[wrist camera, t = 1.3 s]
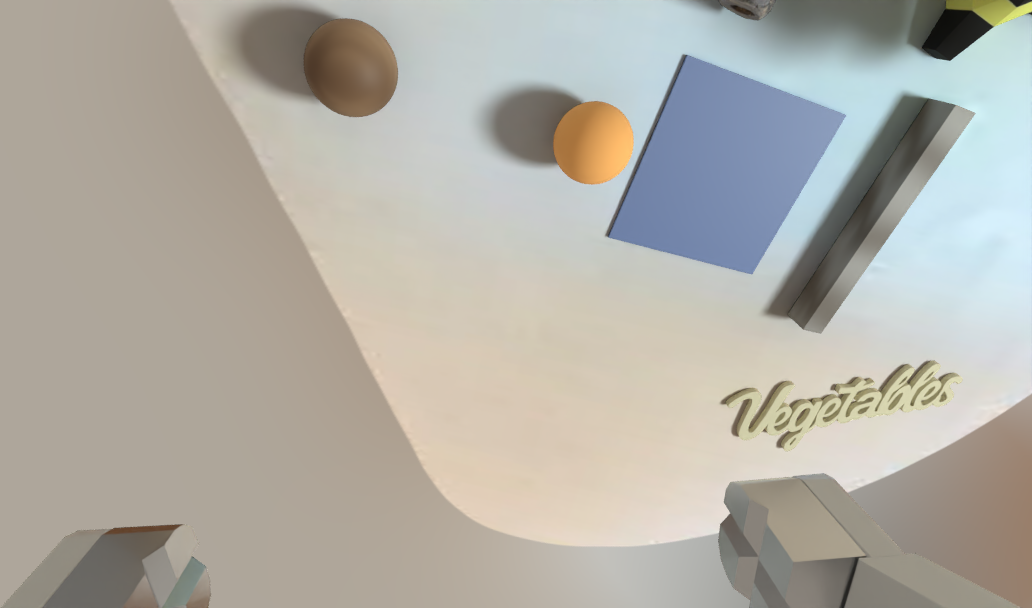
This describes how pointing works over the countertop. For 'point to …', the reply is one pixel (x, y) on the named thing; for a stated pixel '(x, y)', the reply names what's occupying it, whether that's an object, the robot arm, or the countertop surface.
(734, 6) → the pipe
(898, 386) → the decorative sign
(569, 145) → the orange ball
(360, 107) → the walnut ball
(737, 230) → the blue mark
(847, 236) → the rail
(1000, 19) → the toy
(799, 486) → the robot arm
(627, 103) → the countertop surface
